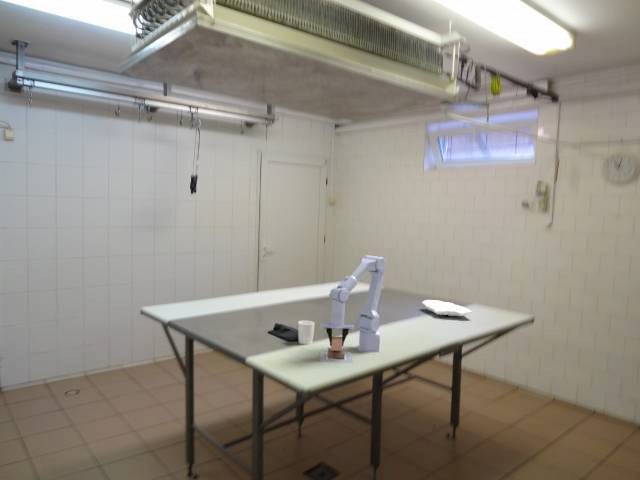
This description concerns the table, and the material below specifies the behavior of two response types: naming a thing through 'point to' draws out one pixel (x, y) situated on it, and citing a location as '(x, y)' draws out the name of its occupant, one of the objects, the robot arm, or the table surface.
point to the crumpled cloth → (445, 308)
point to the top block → (336, 343)
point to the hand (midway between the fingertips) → (336, 345)
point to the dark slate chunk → (285, 332)
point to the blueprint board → (325, 359)
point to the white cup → (305, 332)
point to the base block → (336, 354)
